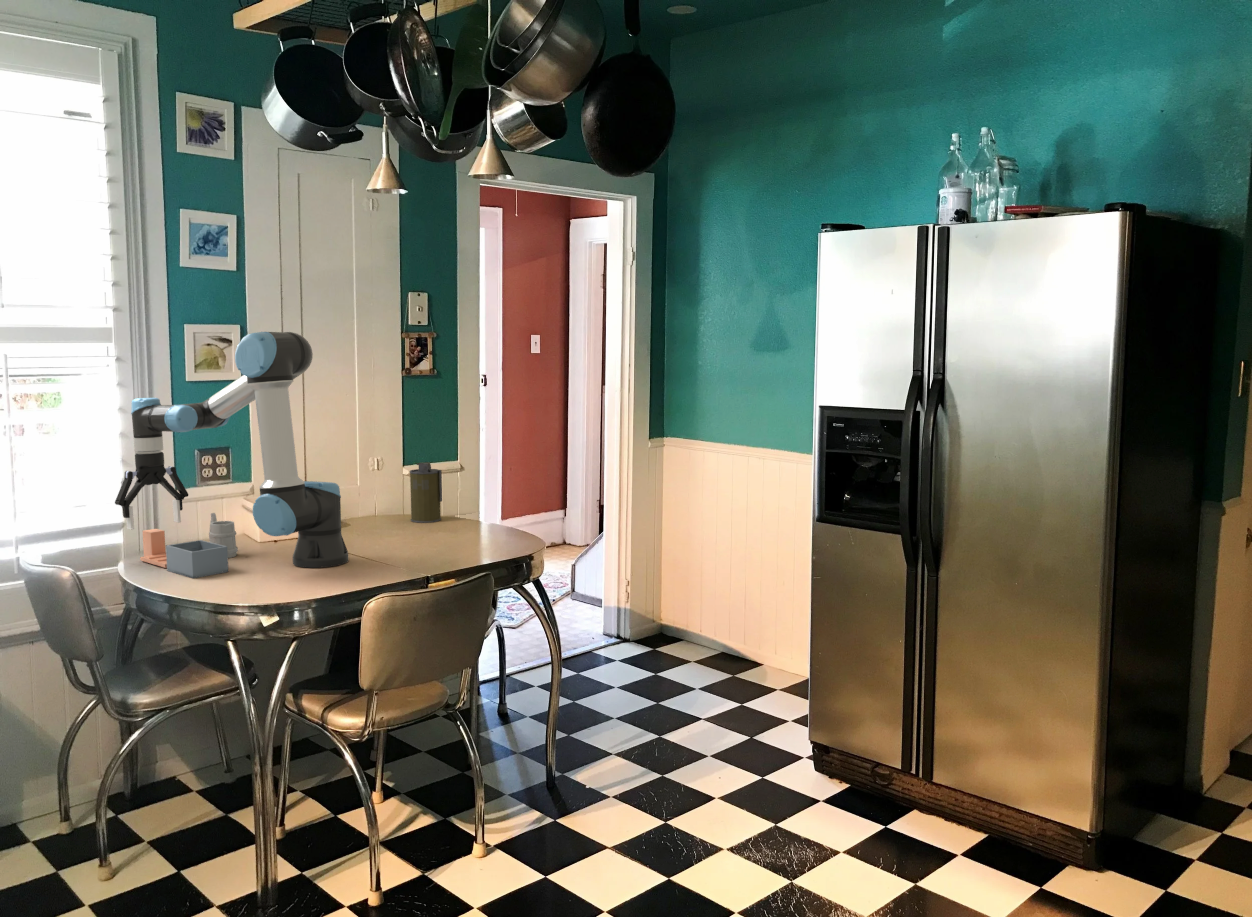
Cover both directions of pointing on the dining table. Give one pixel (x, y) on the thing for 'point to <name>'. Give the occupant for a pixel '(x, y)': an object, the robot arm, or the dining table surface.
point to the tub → (197, 558)
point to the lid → (154, 547)
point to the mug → (223, 534)
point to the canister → (425, 493)
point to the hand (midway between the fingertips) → (154, 525)
